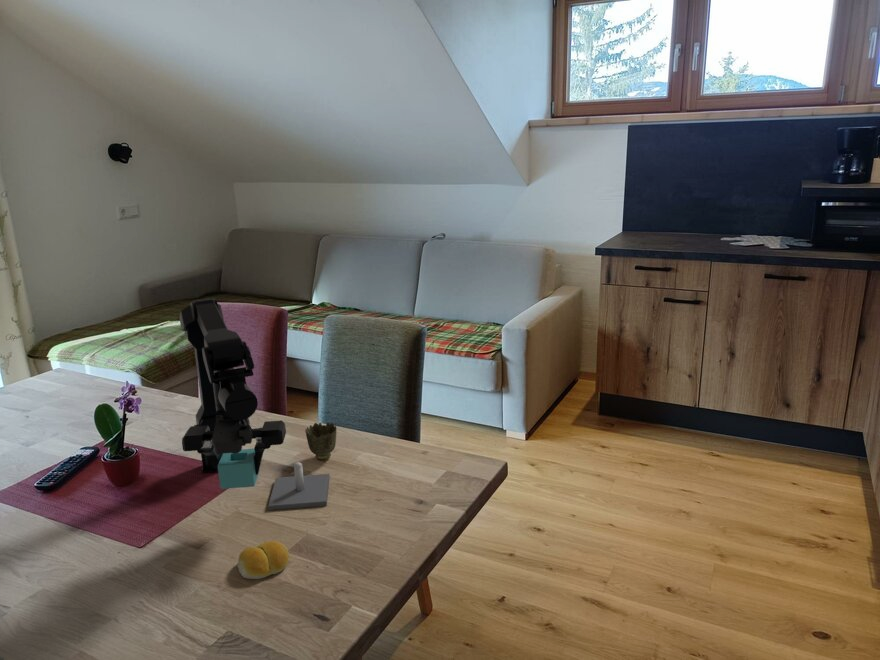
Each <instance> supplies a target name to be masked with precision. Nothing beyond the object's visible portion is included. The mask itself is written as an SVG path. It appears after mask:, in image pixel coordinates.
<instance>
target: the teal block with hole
mask: <svg viewBox="0 0 880 660" xmlns="http://www.w3.org/2000/svg"><path fill="white" fill-rule="evenodd" d="M217 473H218V479H219V487H220V490H223V489H224V490H225V489H227V490H228V489H240V488H251V487H255V486H256V483H257V480H258V477H259V474H260V469H259V473H258V474H257V475H256V471H255V450H254V448H244V449H243V448H242V450H241V451H240V452H239V453H223V455H222V457H221V459H220V461H219V464H218V472H217Z"/></svg>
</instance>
